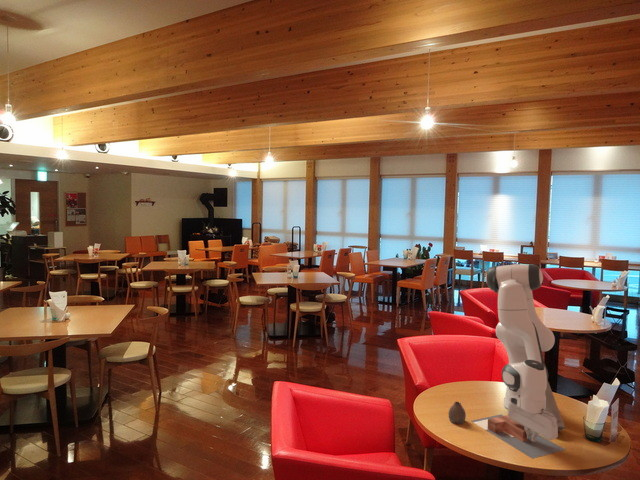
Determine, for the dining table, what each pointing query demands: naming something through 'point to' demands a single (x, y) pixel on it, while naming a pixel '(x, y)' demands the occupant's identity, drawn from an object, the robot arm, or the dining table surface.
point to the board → (526, 447)
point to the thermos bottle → (553, 407)
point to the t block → (507, 427)
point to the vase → (457, 413)
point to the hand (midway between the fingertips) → (531, 440)
